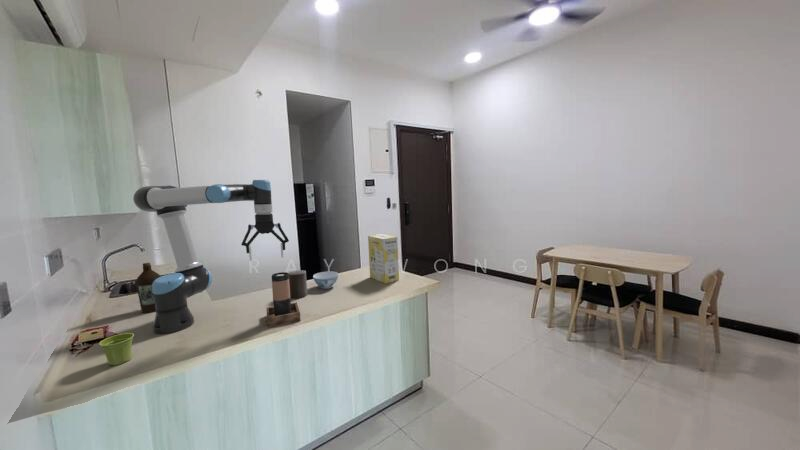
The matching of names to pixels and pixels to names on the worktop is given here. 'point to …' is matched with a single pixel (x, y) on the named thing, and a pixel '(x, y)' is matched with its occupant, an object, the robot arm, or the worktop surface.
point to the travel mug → (281, 293)
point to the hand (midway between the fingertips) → (266, 258)
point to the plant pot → (118, 348)
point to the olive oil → (146, 288)
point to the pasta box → (383, 258)
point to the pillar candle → (297, 284)
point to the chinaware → (325, 279)
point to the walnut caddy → (283, 316)
